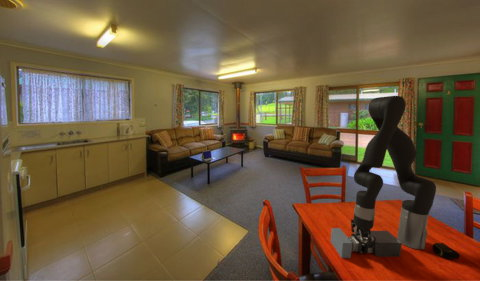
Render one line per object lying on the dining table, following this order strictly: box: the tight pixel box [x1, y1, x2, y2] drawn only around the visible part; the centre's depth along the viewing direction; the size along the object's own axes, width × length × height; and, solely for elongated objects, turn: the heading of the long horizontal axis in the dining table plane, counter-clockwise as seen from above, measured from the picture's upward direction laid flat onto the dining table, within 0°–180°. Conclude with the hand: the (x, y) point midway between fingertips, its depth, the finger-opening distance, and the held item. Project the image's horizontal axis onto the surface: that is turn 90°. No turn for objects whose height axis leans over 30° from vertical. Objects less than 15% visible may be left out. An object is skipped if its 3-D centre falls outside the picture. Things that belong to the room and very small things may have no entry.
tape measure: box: [432, 242, 460, 260], centre depth 79 cm, size 7×7×4 cm
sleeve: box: [370, 230, 403, 258], centre depth 82 cm, size 10×8×7 cm
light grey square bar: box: [347, 233, 375, 255], centre depth 82 cm, size 17×6×6 cm, turn 89°
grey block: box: [330, 227, 352, 259], centre depth 82 cm, size 4×10×7 cm, turn 178°
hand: (360, 247), depth 82 cm, fingers closed on light grey square bar, 5 cm apart
